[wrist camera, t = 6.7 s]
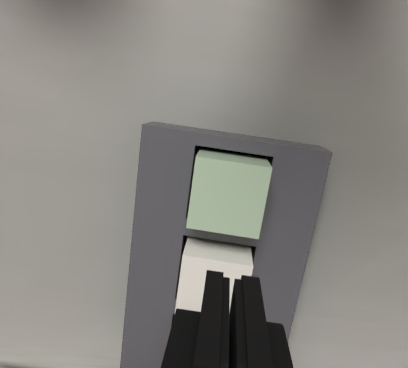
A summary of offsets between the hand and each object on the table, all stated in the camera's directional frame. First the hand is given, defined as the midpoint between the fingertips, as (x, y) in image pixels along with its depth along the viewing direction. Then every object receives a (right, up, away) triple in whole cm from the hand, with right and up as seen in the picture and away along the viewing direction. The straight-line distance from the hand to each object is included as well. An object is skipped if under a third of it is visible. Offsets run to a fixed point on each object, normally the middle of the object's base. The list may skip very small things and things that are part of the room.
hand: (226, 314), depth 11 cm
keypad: (0, -1, +16) cm, 16 cm away
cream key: (0, -2, +14) cm, 14 cm away
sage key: (+1, +4, +12) cm, 13 cm away
